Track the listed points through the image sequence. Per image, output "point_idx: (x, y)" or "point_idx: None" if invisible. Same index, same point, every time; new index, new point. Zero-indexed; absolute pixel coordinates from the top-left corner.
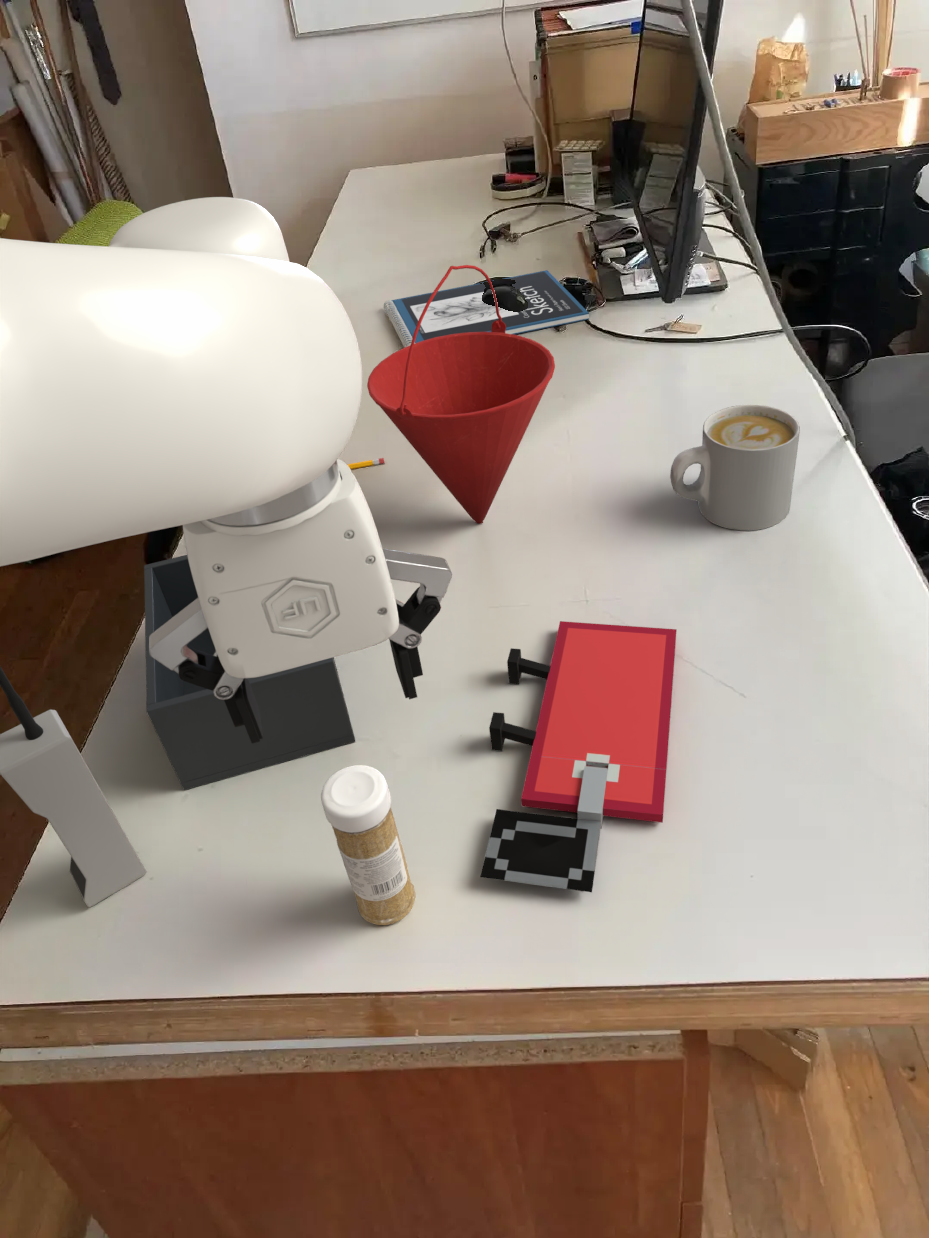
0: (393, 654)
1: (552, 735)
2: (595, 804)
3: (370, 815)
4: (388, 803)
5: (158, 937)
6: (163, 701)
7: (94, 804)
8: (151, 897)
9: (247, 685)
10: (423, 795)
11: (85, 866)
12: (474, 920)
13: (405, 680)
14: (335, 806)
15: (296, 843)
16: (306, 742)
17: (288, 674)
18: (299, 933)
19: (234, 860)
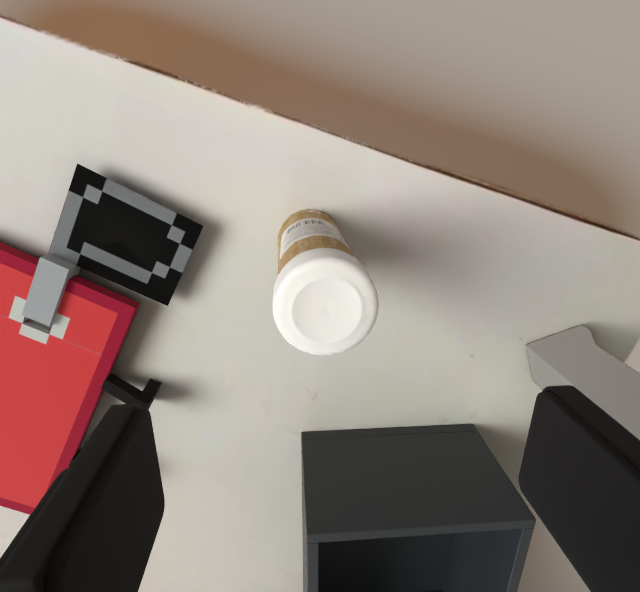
0: (132, 562)
1: (83, 378)
2: (45, 271)
3: (310, 257)
4: (278, 278)
5: (529, 273)
6: (514, 528)
7: (622, 412)
8: (525, 318)
9: (620, 566)
10: (245, 350)
11: (603, 355)
12: (223, 185)
13: (103, 457)
14: (360, 286)
15: (382, 334)
16: (351, 442)
17: (364, 529)
18: (401, 232)
19: (444, 334)
